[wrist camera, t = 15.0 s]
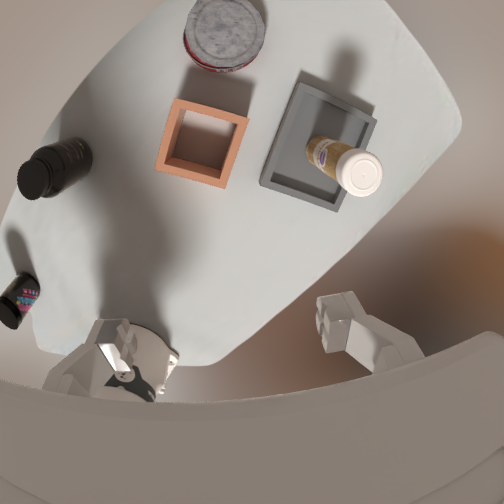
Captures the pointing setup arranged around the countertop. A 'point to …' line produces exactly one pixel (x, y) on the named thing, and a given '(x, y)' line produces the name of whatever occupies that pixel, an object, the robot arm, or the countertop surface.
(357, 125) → the charcoal tray
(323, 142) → the sprinkles bottle
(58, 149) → the supplement bottle
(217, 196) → the countertop surface
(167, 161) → the terracotta holder
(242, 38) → the canned food
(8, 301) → the supplement container
